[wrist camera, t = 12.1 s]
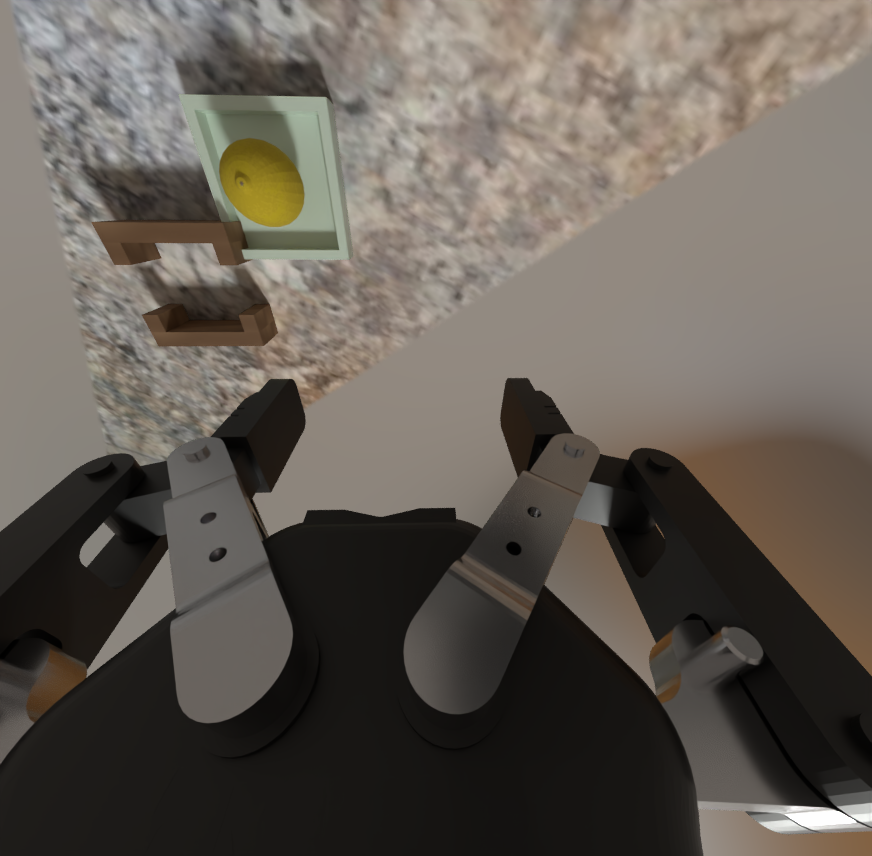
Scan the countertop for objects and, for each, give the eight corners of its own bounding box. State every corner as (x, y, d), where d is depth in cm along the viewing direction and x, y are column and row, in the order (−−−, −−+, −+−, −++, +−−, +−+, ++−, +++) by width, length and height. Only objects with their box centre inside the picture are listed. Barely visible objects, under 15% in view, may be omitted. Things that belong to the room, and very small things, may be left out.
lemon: (306, 236, 30) (273, 246, 24) (246, 202, 28) (193, 202, 22) (323, 171, 27) (291, 163, 21) (257, 129, 26) (200, 105, 19)
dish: (196, 101, 25) (178, 94, 23) (333, 104, 25) (326, 96, 24) (245, 255, 32) (234, 259, 30) (353, 256, 32) (348, 259, 30)
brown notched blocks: (127, 219, 30) (91, 222, 26) (244, 220, 30) (222, 223, 27) (182, 333, 36) (158, 346, 33) (278, 332, 36) (263, 345, 33)
